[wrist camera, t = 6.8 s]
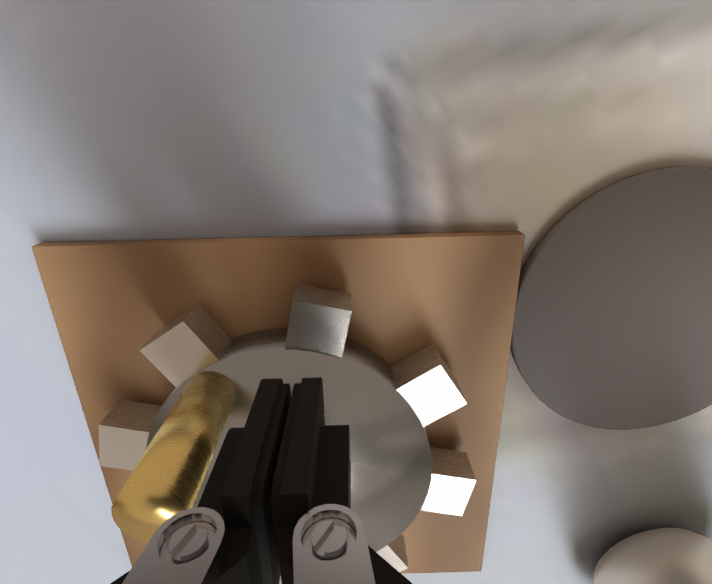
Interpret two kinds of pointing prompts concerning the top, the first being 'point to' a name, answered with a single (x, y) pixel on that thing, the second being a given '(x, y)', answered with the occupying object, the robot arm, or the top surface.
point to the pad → (622, 304)
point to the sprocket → (291, 363)
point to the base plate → (272, 310)
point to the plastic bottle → (657, 559)
